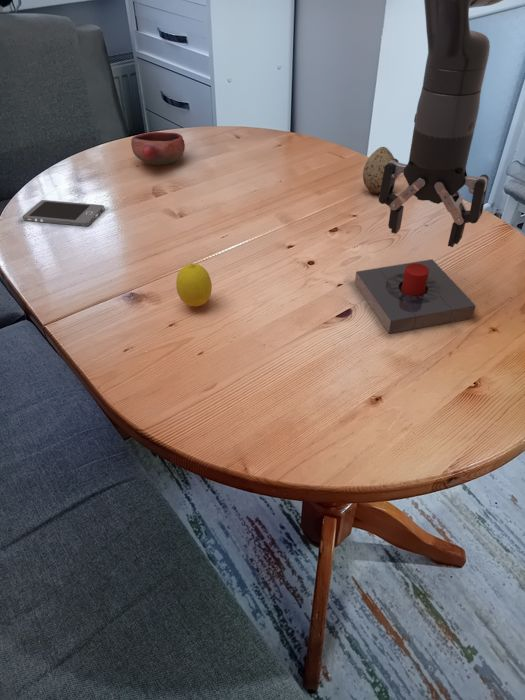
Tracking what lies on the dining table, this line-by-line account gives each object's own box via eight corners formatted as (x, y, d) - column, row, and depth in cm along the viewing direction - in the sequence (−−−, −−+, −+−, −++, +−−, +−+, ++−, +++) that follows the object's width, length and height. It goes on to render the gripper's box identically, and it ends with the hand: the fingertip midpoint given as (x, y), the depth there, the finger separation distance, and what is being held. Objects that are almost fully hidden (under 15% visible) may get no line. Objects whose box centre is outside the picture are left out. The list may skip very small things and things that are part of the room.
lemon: (173, 312, 87) (166, 269, 81) (189, 293, 90) (184, 252, 85) (204, 319, 85) (199, 276, 80) (219, 300, 89) (215, 258, 83)
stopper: (416, 292, 89) (422, 261, 85) (426, 305, 86) (433, 273, 83) (396, 296, 88) (401, 265, 85) (405, 308, 86) (411, 277, 82)
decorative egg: (392, 185, 120) (399, 141, 114) (395, 200, 115) (402, 153, 109) (360, 185, 121) (364, 140, 115) (361, 199, 116) (366, 153, 109)
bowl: (129, 159, 136) (123, 127, 130) (177, 150, 139) (173, 118, 134) (146, 183, 124) (140, 148, 119) (198, 172, 128) (195, 139, 123)
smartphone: (21, 220, 112) (20, 217, 111) (42, 202, 118) (41, 199, 117) (87, 226, 109) (86, 223, 108) (105, 208, 115) (104, 205, 114)
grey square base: (429, 271, 94) (432, 259, 92) (472, 318, 84) (476, 305, 82) (354, 283, 91) (355, 271, 90) (388, 333, 81) (391, 320, 80)
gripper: (508, 124, 69) (478, 238, 79) (401, 109, 75) (386, 217, 85) (494, 143, 64) (464, 261, 75) (381, 125, 70) (368, 237, 80)
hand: (422, 237), depth 80 cm, fingers open, 8 cm apart
